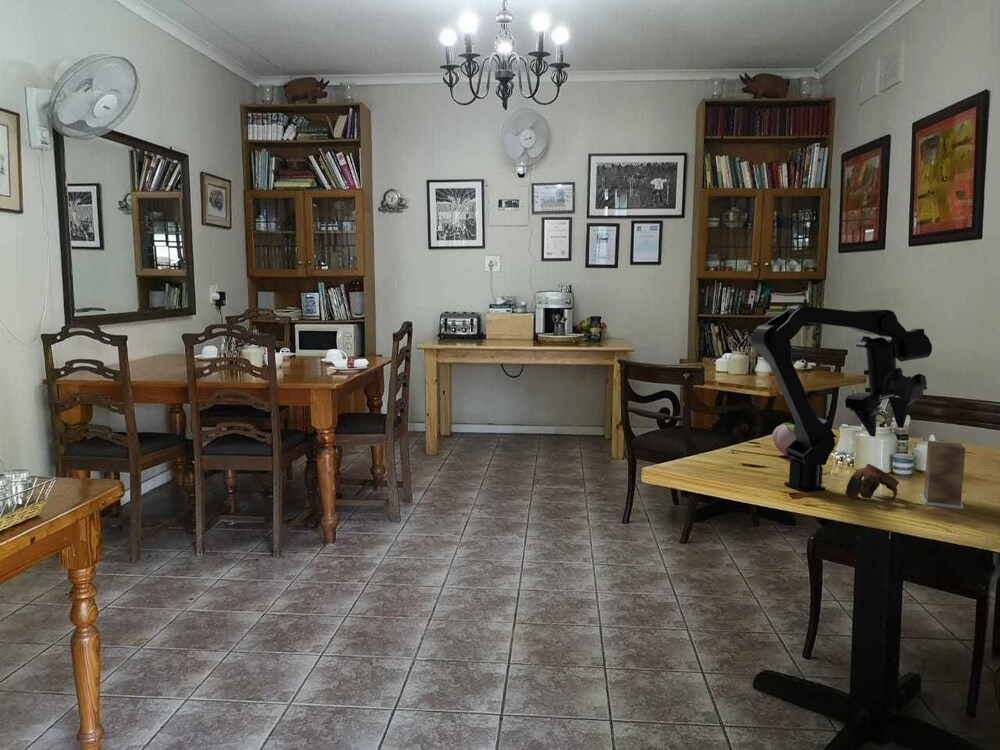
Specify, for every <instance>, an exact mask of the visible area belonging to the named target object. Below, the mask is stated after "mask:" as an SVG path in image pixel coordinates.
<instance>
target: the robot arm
mask: <svg viewBox="0 0 1000 750" xmlns="http://www.w3.org/2000/svg"><path fill="white" fill-rule="evenodd" d="M806 324H815V325H827V326H835V327H843V328H844V327H845V328H849V329H851V330H853V331H856V332H858V333H859V332H860V333H862V334H866V335H863V336H862V338H861V339H860V340H859V341H857V343H856V345H855V346H856V347H857V348H863V349H866V350H865V351H866V362H867V363H866V364H867V369H864V370H863V375H864V376H867V377H868V386H867V387H864V391H865V392H856V393H852V394H849V395H847V396H846V397H845V398H844V403H845V406H844V407H845V408H847V409H849V410H850V411H852V412H854V413H855V416H856V417H857V418H858V419H859V420H860V422H861V423H862V425H863V427H864V428H865V430H866V432H867V433H868V434H869V436H870V437H873V438H875V437H876V435H877V414H878V413H879V412H880V410H881V407H879V405H880V402H881V401H883V400H886V399H888V400H889V403H890V407H891V410H892V414H893V417H894V421H895V423H896V425H897V428H899V429H903V428H904V426H905V423H906V419H907V417H908V413H909V410H910V408H911V405H912V404H913V403H914V402H915V401H917V400H918V399H920V398H921V396H922V395H924V391H925V390H927V389H928V387H927V383H928V382H927V378H926V375H924V374H922V373H917V374H914V375H913V376H911V375H908V376H905V375H904V374H903V370H902V368H901V367H897V360H898V361H899V362H907V361H914V360H915V361H916V360H920V359H922V360H923V359H926V358H928V357H930V356H931V354H932V352H933V345H932V343H931V340H930V338H929V337H928V335H927V334H925V329H924V328H914V329H911V330H906V328H905V327H904V326H903V325H902V324H901V323H900V321H898V317H897V315H896V313H895V311H893V310H890V309H878V308H877V309H872V308H871V309H859V310H843V309H836V308H835V309H834V308H827V307H826V308H825V307H818V306H817V307H816V306H809V305H807V304H792V305H791V306H790V307H788V308H787V309H785V311H784V312H782V313H780V314H779V315H777V316H775V317H774V318H772V319H771V320H770V319H769V321H767V322H766V323H765V324H760V325H758V326H756V328H754V330H753V332H752V335H751V336H750V340H751V343H752V345H753V347H754V348H755V350H756V351H757V352H758V354H759V355H760V356H761V357H762V359H763V360H764V361H765V362H766V363H767V364H768V365H769V366H770V369H771V370H772V373H773V375H774V377H775V380H776V382H777V384H778V387H779V389H780V391H781V393H782V395H783V398H784V400H785V402H786V404H787V407H788V409H789V411H790V413H791V416H792V418H793V421H794V424H793V425H794V433H795V437H796V439H795V440H794V441H793V442H792V443H791V444H790V445H789V446H788V447H787V448H786V453H787V456H786V457H788V458H791V459H789V474H788V481H786V482H783V485H785V486H787V487H790V488H792V489H795V490H798V491H800V492H813V491H824V490H826V489H827V487H826V486H824V485H823V471H824V468H823V467H822V466H825V465H826V464H827V462H828V460H829V457H830V455H831V454H832V452H833V451H834V449H835V447H836V440H835V438H837V435H836V434H835V433H834V432H833V430H832V429H833V428H832V424H831V422H830V421H829V420H827V419H824V418H821V417H818V416H817V415H816V412H815V410H814V408H813V406H812V404H811V401H810V399H809V397H808V394H807V392H806V390H805V387H804V386H803V383H802V380H801V379H800V377H799V374H798V372H797V370H796V367H795V366H794V362H793V360H792V350H793V348H792V341H791V340H792V339H793V338H794V337H795V336H797V335H798V334H799V332H800V331H801V330H802V329H803V327H804V326H805V325H806ZM868 335H872V336H874V335H875V336H879V337H874V338H872V337H870V336H868ZM885 337H886V338H891V339H886V338H885Z"/></svg>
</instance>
